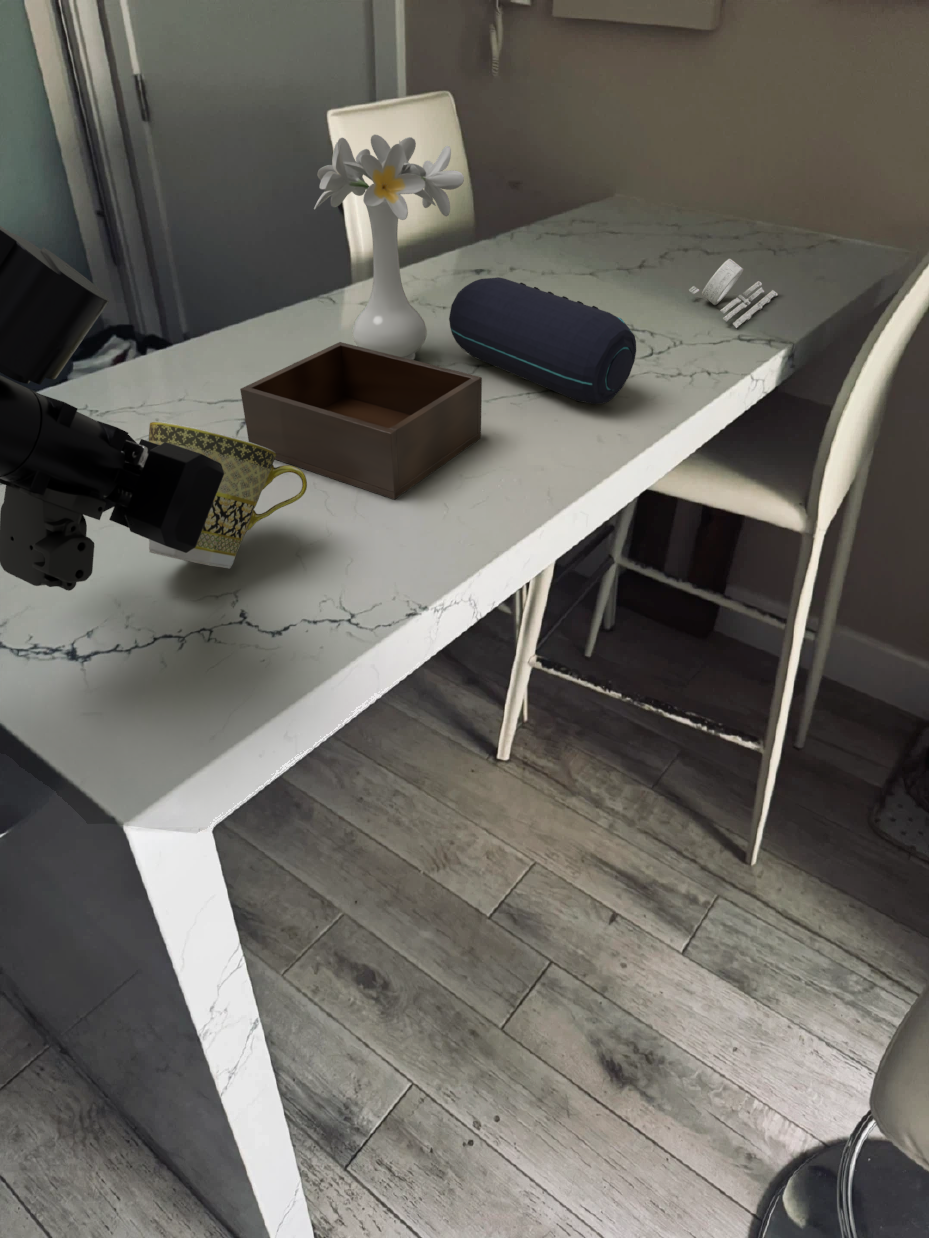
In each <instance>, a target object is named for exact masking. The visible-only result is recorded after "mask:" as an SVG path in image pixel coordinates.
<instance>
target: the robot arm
mask: <svg viewBox="0 0 929 1238" xmlns="http://www.w3.org/2000/svg"><path fill="white" fill-rule="evenodd" d="M109 303H110V298H109V297H108V296H107V295H106V293H104V292H103V291H102V290H101V289H100V288H99V287H98V286H97V285H95V284H94V283H93V282H92V281H90V280H89V279H88V278H87V277H85V276H84V275H83V274H82V273H80V272H79V271H78V270H76V269H75V268H74V267H72V266H71V265H70V264H68V263H67V262H66V261H64V260H63V259H61V258H60V257H59V256H57V255H56V254H55V253H53V252H51V250H49V249H47V248H46V247H44V246H43V247H42V248H40V247H38V246H36V245H35V244H34V243H32V242H30V241H28V240H27V239H25V238H23V237H21V236H20V235H18V234H15V233H13V232H10V231H9V230H8V229H6V228H5V227H4V226H2V225H0V484H1V485H3V486H5V490H4V497H3V502H2V504H1V507H0V567H1V568H2V569H3V571H4V572H6V573H8V574H9V575H11V576H13V577H16V578H17V579H20V580H22V581H24V582H26V583H28V584H30V585H32V586H35V587H40V586H41V587H42V586H47V587H48V588H54V587H58V588H61V589H63V590H65V591H72V590H74V589H75V588H76V586H77V583H80V582H86V581H87V580H88V579H89V578H90V577H91V576H92V574H93V571H94V570H93V568H94V557H95V555H94V554H95V543H94V541H93V539H91V538H90V537H88V536H87V530H88V527H87V526H88V525H87V521H86V518H85V516H87V517H89V518H92V519H93V520H94V519H95V520H98V521H101V518H102V515H103V513H105V512H107V511H108V510H111V509H112V511H111V513H110V517H109V521H111V522H113V523H116V524H118V525H120V526H123V527H126V528H128V529H129V532H131V533H133V534H135V535H137V536H140V537H142V538H145V539H148V540H149V539H150V540H152V541H155V542H157V543H160V544H162V545H164V546H167V547H170V548H173V549H176V550H179V551H182V552H185V553H187V552H189V551H191V550H192V549H194V548H195V547H196V545H197V542H198V540H199V537H200V535H201V532H202V530H203V527H204V524H205V522H206V519H207V517H208V514H209V512H210V509H211V507H212V504H213V501H214V499H215V496H216V494H217V491H218V489H219V486H220V484H221V481H222V478H223V476H224V471H223V468H222V465H221V463H219V462H217V461H215V460H213V459H211V458H209V457H207V456H205V455H203V454H200V453H197V452H194V451H191V450H188V449H185V448H182V447H179V446H176V445H173V444H170V443H167V442H164V443H163V444H161V445H158V444H155V443H152V442H149V440H146V439H143V438H140V441H139V443H137V442H136V440H134V438H132V437H131V435H129V432H128V431H126V430H124V429H121V428H119V427H117V426H115V425H111V424H108V423H106V422H102V421H99V420H96V419H93V418H91V417H89V416H88V415H85V414H84V413H82V412H79V411H78V407H75V406H74V405H72V404H70V403H68V402H65V401H63V400H60V399H56V398H53V397H51V396H47V395H45V394H41V393H40V392H37V391H35V390H32V389H31V388H28V387H26V386H25V385H22V384H29V383H30V382H32V383H34V384H37V385H42V383H43V381H45V379H49V380H56V379H57V378H58V377H59V375H60V374H61V372H62V371H63V370H64V368H65V367H66V365H67V364H68V362H69V361H70V359H71V358H72V356H73V354H74V353H75V352H76V350H77V349H78V348H79V346H80V344H81V343H82V342H83V340H84V339H85V337H86V335H88V333H89V331H90V330H91V328H92V327H93V326H94V324H95V323H96V321H97V320H98V318H99V317H100V316H101V314H102V313H103V311H104V310H105V308H106V307H107V305H108V304H109ZM1 374H2V375H1ZM3 375H4V376H3ZM5 376H6V377H5ZM11 379H12V380H11ZM17 382H19V383H17ZM20 383H22V384H20Z"/></svg>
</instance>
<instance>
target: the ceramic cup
mask: <svg viewBox="0 0 929 1238" xmlns="http://www.w3.org/2000/svg"><path fill="white" fill-rule="evenodd" d="M148 428H149V429H148V441H149V442H152V443H155V444H158V445H161V444H163V443H164V442H167V443H170V444H173V445H176V446H179V447H182V448H185V449H188V450H191V451H194V452H197V453H200V454H203V455H205V456H207V457H209V458H211V459H213V460H215V461H217V462H219V463H221V465H222V468H223V471H224V476H223V478H222V481H221V484H220V486H219V489H218V491H217V494H216V496H215V499H214V501H213V504H212V507H211V509H210V512H209V514H208V517H207V519H206V522H205V524H204V527H203V530H202V532H201V535H200V537H199V540H198V542H197V545H196V547H195V548H194V549H192V550H191V551H189V552H187V553H185V552H182V551H179V550H176V549H173V548H170V547H167V546H164V545H162V544H160V543H157V542H155V541H152V540H150V539H148V550H149V553H151V554H154V555H159V556H163V557H168V558H172V559H175V560H181V561H186V562H189V563H190V562H191V563H196V564H201V565H206V566H211V567H217V568H224V569H231V568H232V567H233V565H234V562H235V558H236V556H237V553H238V551H239V548H240V546H241V544H242V541H243V539H244V537H245V535H246V534H247V531H250V530H251V529H252V528H253V527H254V526H255V525H256V523H258V522H259V521H261V520H263V519H265V518H267V517H269V516H271V515H272V514H273V513H275V512H276V511H277V510H280V509H281V508H284V507H287V506H289V505H291V504H293V503H295V502H297V501H298V500H300V499H301V498H302V497H303V496H304V495H305V493H306V491H307V488H308V481H307V477H306V474H305V473H304V472H303V470H301V468H300V467H297V466H294V465H291V464H288V465H287V464H286V465H285V464H284V465H280V466H276V467H275V466H274V462H275V460H276V459H275V457H276V453H275V452H274V451H272V450H270V449H268V448H265V447H262V446H260V445H257V444H254V443H251V442H249V440H248V441H247V440H244V439H241V438H238V437H234V436H230V435H227V434H222V433H219V432H215V431H211V430H207V429H203V428H199V427H193V426H188V425H183V424H178V423H172V422H166V421H165V422H164V421H151V422H150V423H149V427H148ZM286 473H293V474H295V475H297V476H298V477H299V478H300V480H301V483H302V484H301V489H300V491H299V492H298V493H297V494H295V495H294V496H292V497H291V498H288V499H286V500H283V501H282V502H279V503H277V504H275V505H272V507H270V508H269V509H267V510H266V511H264V512H261V513H257V512H256V510H255V508H256V507H257V504H258V502H259V499H260V497H261V494H262V492H263V490H265V488H267V487H268V486H269V485H270V484H271V483H272V482H273V481H274V479H276V478H277V477H279V476H281V475H283V474H286Z"/></svg>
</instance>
